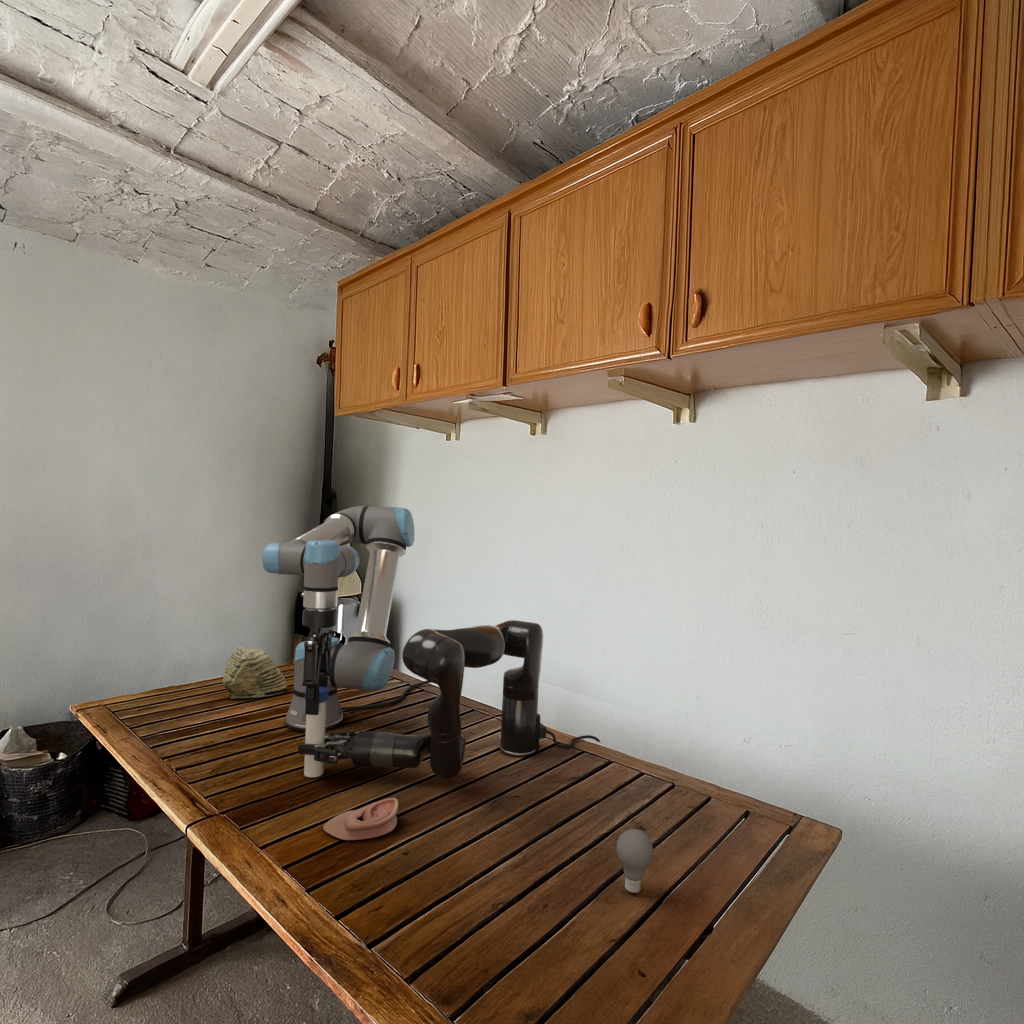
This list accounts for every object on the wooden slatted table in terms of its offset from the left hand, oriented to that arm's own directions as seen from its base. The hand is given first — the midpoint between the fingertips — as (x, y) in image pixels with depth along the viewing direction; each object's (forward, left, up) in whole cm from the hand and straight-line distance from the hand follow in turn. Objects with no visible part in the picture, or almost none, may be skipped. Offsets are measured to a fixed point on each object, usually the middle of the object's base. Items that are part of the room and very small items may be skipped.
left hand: (316, 709), depth 144 cm
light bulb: (-10, +76, -15) cm, 78 cm away
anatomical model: (+7, +26, -15) cm, 31 cm away
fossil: (-20, -61, -15) cm, 66 cm away
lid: (0, 0, +4) cm, 4 cm away
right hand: (+2, -2, -8) cm, 9 cm away
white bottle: (0, 0, -15) cm, 15 cm away
